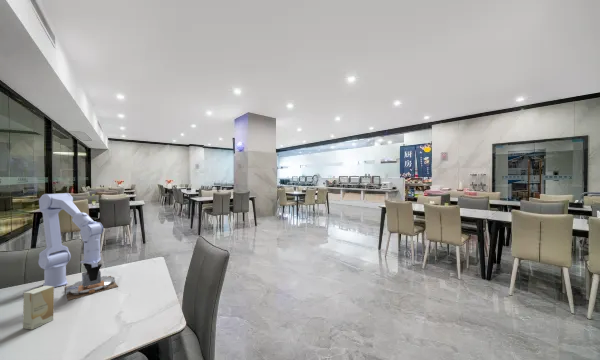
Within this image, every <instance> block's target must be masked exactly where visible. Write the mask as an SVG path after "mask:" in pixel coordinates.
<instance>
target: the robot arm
mask: <svg viewBox="0 0 600 360" xmlns="http://www.w3.org/2000/svg"><path fill="white" fill-rule="evenodd" d="M38 206H39V207H38V208H39V211H40V212H41V213H42V219H43V221H42V222H43V227H44V228H43V229H44V236H45V245H46V248H45V249H43V250H42V251H40V252H39V254H38V255H39V257H38V260H37V263H38V266H39V267H40V268H41V269H42V270H44V273H43V275H44V277H43V278H44V282H43V284H42V285H43V286H54V288H57V287H62V286H66V285H68V283H69V282H68V279H67V269H66V268H67V265H68V263H69V262H70V261H71V258H72V255H71V252H70V251H69V250H70V249H69V247H68V246H66V245H63V244H62V242H63V241H62V234H61V227H60V226H61V225H60V217H59V214H60V212H61V211H62V210H64V211H65V213H66V214H68V215H70V216H71V217H72V218H71V221H72V223H74V224H75V225H76V227H78V228H79V230H80V231H79V234H80V236H81V240H82V242H83V260H80V264H83V266H84V269H85V270H86V272H88V274H89V279H90V281H94V280H97V276H98V272H99V270H100V269H101V268H102V263H100V261H101V260H102V257H101V235H102V234H103V232H104V226H103V224H102V223H101V222H98V221H94V220H93V218H91V216H90V215H89V214H88V213H86V212H81V211H80V209H79V208H78V207H77V205H76V204H75V203H74V197H73V196H72V195H71V194H70V193H69V192H64V193H44V194H42V195H41V196H40V198H39V199H38ZM99 263H100V264H99Z"/></svg>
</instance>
